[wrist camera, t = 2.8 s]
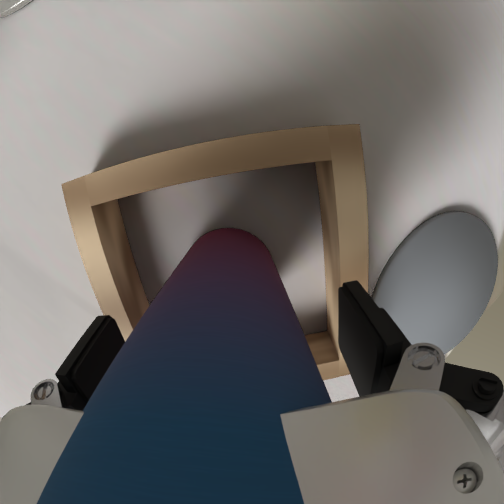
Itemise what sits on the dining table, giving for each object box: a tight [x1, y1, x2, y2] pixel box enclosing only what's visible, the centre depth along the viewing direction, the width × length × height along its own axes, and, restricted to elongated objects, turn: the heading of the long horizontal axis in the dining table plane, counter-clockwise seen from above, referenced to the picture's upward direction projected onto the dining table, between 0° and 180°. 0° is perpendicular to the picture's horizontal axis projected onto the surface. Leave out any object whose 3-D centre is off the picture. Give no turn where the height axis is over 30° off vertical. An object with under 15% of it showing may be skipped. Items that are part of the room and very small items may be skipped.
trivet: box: [372, 211, 498, 354], centre depth 17 cm, size 13×13×1 cm
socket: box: [61, 124, 369, 380], centre depth 14 cm, size 14×14×3 cm
